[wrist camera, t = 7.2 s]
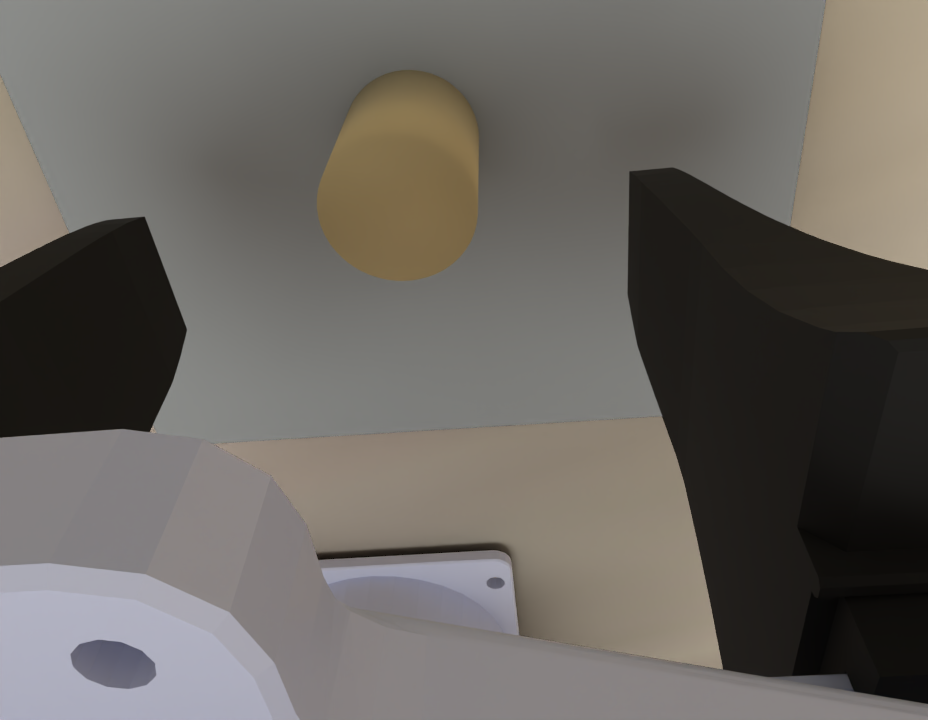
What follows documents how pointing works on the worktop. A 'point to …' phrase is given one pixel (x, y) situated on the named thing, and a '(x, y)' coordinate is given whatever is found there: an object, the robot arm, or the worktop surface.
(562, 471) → the worktop surface
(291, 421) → the lid
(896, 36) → the worktop surface
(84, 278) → the robot arm
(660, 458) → the worktop surface
